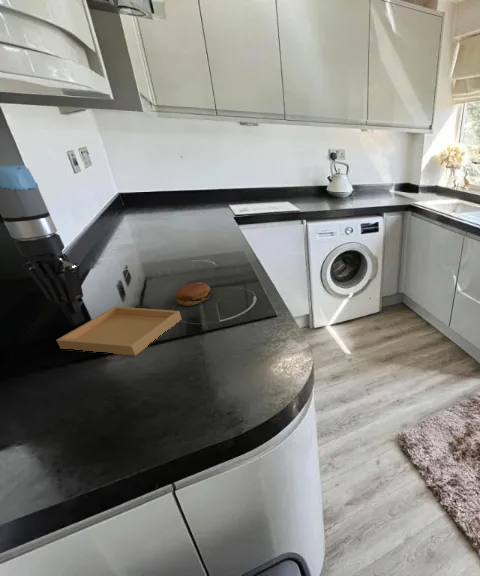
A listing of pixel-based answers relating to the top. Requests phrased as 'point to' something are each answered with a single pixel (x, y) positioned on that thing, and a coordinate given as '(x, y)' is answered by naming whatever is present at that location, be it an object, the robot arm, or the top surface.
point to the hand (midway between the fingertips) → (77, 322)
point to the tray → (120, 330)
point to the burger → (193, 294)
